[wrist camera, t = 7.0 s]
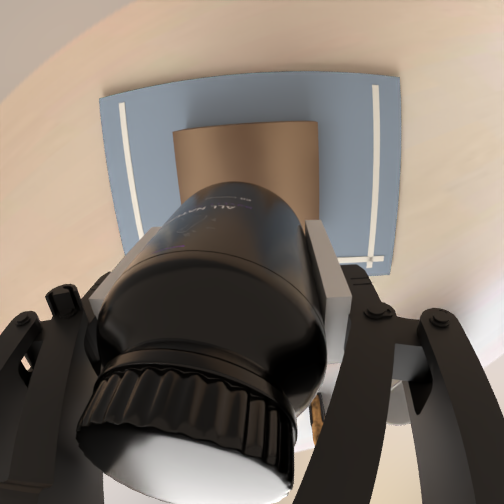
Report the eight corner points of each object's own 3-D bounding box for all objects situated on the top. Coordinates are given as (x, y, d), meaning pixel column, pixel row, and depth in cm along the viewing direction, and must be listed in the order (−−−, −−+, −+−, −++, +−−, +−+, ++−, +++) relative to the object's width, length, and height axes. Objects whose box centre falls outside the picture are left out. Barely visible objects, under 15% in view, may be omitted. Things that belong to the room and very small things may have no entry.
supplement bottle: (219, 149, 14) (61, 289, 3) (331, 234, 15) (419, 462, 4) (148, 255, 16) (26, 444, 6) (249, 321, 18) (229, 530, 7)
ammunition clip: (327, 428, 45) (334, 489, 34) (316, 430, 45) (321, 491, 34) (320, 392, 41) (328, 463, 30) (307, 394, 41) (313, 466, 30)
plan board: (135, 278, 34) (131, 283, 33) (104, 98, 26) (98, 98, 25) (386, 270, 32) (390, 275, 31) (395, 78, 23) (400, 77, 22)
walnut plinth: (199, 242, 31) (189, 260, 27) (185, 128, 26) (172, 131, 22) (312, 237, 30) (318, 256, 26) (311, 120, 25) (317, 121, 21)
